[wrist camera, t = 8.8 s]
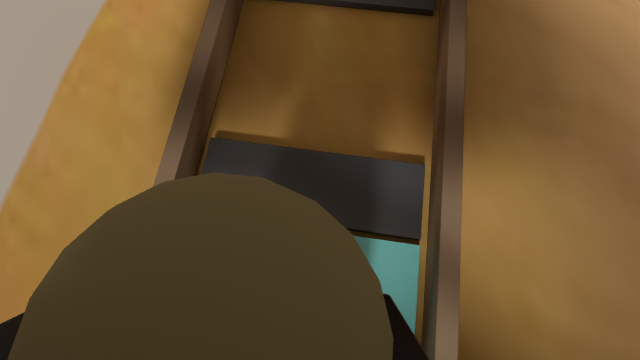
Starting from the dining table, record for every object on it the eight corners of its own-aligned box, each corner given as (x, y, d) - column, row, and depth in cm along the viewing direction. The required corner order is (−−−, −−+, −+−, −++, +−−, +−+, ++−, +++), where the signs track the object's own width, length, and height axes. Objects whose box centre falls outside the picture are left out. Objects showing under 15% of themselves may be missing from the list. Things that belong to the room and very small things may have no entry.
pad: (406, 438, 14) (408, 442, 13) (146, 392, 15) (141, 394, 14) (418, 246, 16) (420, 245, 16) (193, 214, 17) (190, 212, 16)
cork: (305, 446, 13) (206, 1041, 2) (179, 341, 14) (-244, 442, 4) (392, 298, 14) (556, 280, 4) (271, 215, 16) (157, 38, 5)
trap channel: (436, 475, 13) (454, 503, 12) (110, 415, 14) (77, 432, 12) (456, -50, 22) (468, -84, 20) (249, -68, 23) (242, -102, 21)
